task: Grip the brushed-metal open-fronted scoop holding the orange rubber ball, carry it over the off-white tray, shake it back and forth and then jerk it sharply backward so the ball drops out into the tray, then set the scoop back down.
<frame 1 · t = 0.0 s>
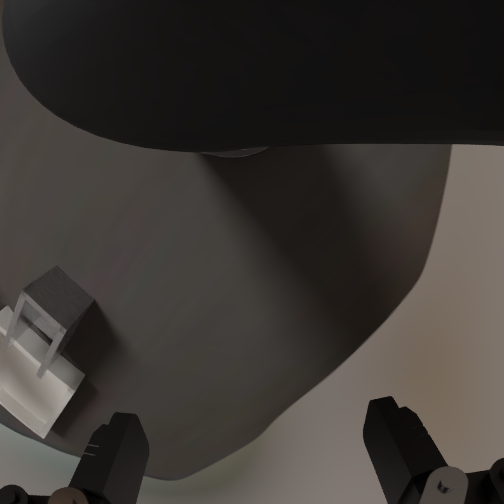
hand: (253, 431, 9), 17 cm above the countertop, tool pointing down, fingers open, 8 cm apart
scoop: (60, 308, 27), on the countertop, touching ball
tray: (28, 373, 29), on the countertop
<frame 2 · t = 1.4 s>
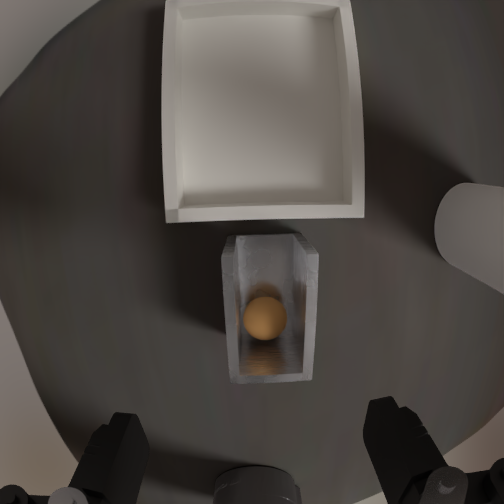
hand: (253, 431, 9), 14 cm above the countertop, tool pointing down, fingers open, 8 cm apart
scoop: (265, 287, 23), on the countertop, touching ball
cylindrical container: (465, 224, 22), on the countertop
ball: (265, 318, 21), point 2 cm above the countertop, tilted 12°, touching scoop
tray: (261, 103, 19), on the countertop
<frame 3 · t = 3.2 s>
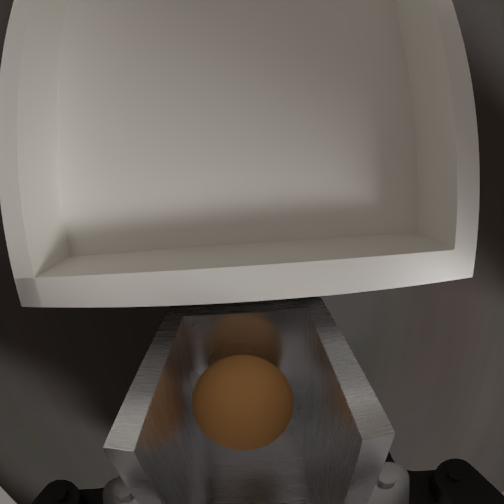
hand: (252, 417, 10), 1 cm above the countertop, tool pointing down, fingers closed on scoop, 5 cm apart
scoop: (252, 398, 11), on the countertop, touching ball, gripper
ball: (242, 403, 9), point 2 cm above the countertop, tilted 129°, touching scoop
tray: (227, 24, 8), on the countertop
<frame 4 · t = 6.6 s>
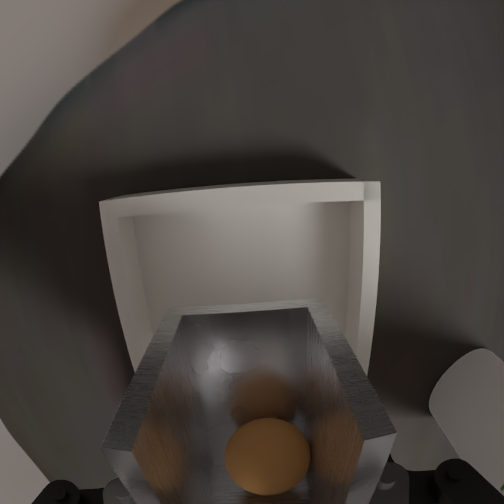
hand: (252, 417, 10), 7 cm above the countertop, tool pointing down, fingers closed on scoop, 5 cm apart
scoop: (252, 398, 11), point 6 cm above the countertop, touching ball, gripper
cylindrical container: (462, 384, 20), on the countertop
ball: (267, 456, 9), point 8 cm above the countertop, tilted 17°, touching scoop
tray: (249, 322, 17), on the countertop
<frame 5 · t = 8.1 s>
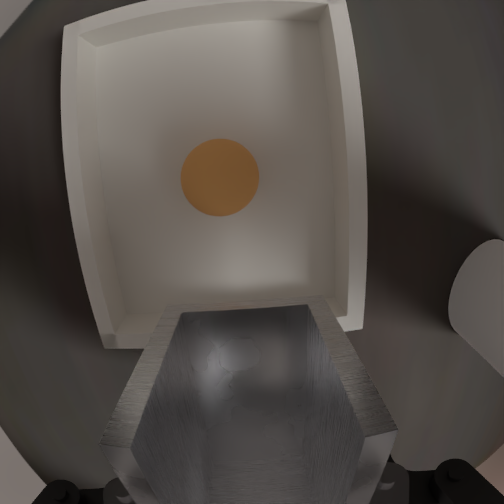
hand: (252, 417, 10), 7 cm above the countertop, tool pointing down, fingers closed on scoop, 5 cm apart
scoop: (252, 396, 11), point 6 cm above the countertop, touching gripper
cylindrical container: (484, 289, 17), on the countertop
ball: (219, 177, 12), point 2 cm above the countertop, touching tray
tray: (214, 164, 14), on the countertop
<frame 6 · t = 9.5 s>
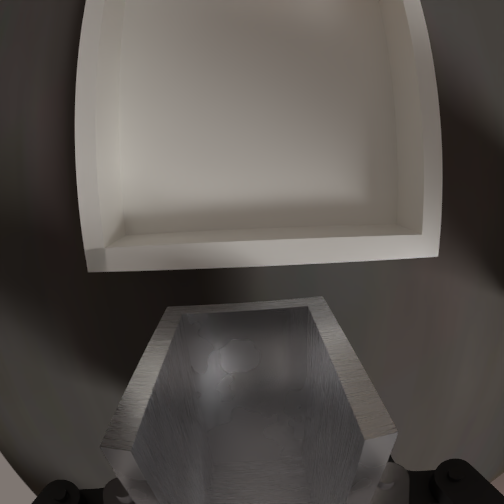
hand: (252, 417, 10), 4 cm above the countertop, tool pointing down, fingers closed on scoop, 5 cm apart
scoop: (252, 397, 11), point 3 cm above the countertop, touching gripper
tray: (255, 57, 11), on the countertop
when the fingers open (2 cm above the countertop, at t = 10.2 s): scoop drops 2 cm, on the countertop.
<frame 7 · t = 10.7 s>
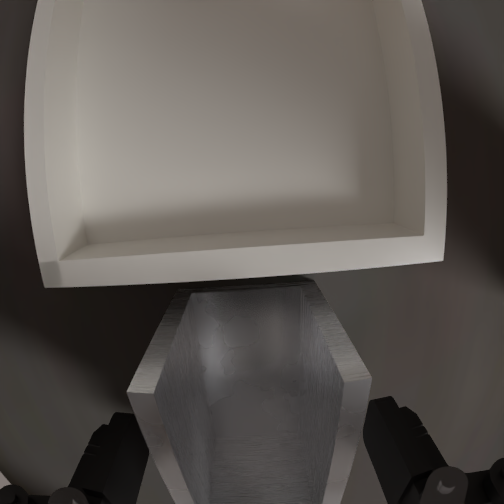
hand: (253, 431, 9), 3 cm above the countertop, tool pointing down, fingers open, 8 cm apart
scoop: (252, 373, 12), on the countertop
tray: (226, 39, 9), on the countertop
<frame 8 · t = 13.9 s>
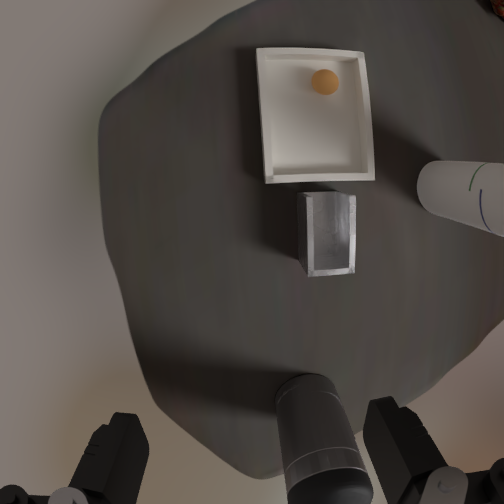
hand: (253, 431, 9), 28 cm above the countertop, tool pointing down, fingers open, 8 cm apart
scoop: (318, 225, 36), on the countertop
cylindrical container: (437, 187, 35), on the countertop
dragon fruit: (499, 8, 27), on the countertop
ball: (325, 82, 30), point 2 cm above the countertop, tilted 153°, touching tray
tray: (312, 115, 33), on the countertop
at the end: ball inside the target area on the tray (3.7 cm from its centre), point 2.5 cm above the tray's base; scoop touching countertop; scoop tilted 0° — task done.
